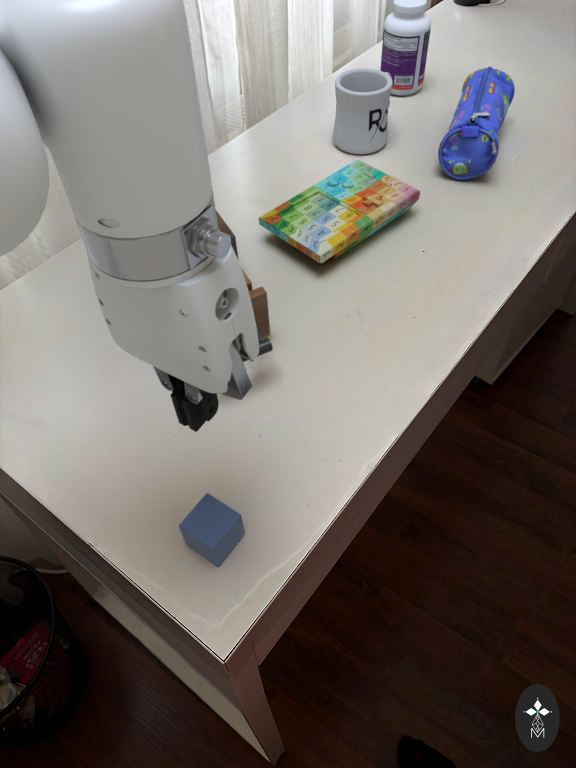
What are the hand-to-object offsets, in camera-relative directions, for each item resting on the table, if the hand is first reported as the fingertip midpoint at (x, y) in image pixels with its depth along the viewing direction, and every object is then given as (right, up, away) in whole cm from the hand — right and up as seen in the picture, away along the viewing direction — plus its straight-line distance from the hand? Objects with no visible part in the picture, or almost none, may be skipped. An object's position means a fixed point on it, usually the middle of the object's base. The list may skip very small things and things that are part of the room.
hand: (199, 414), depth 47 cm
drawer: (-2, +9, +24) cm, 25 cm away
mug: (+20, +44, +52) cm, 71 cm away
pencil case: (+37, +41, +49) cm, 74 cm away
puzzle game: (+15, +25, +37) cm, 47 cm away
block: (0, -12, +8) cm, 14 cm away
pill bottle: (+28, +58, +63) cm, 90 cm away
